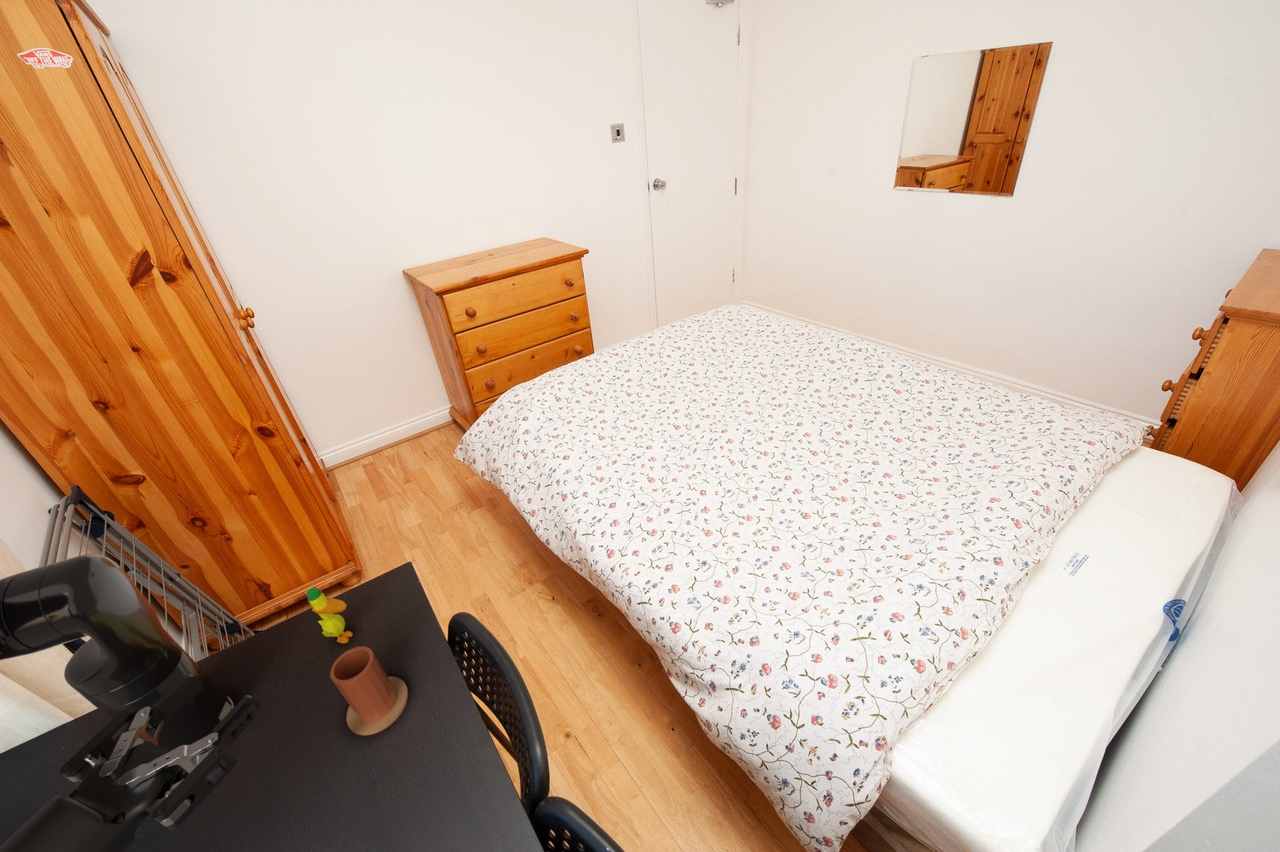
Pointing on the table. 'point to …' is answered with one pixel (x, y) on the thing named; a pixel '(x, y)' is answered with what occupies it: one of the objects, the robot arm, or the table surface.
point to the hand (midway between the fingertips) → (225, 689)
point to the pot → (364, 684)
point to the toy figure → (329, 614)
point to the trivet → (375, 727)
